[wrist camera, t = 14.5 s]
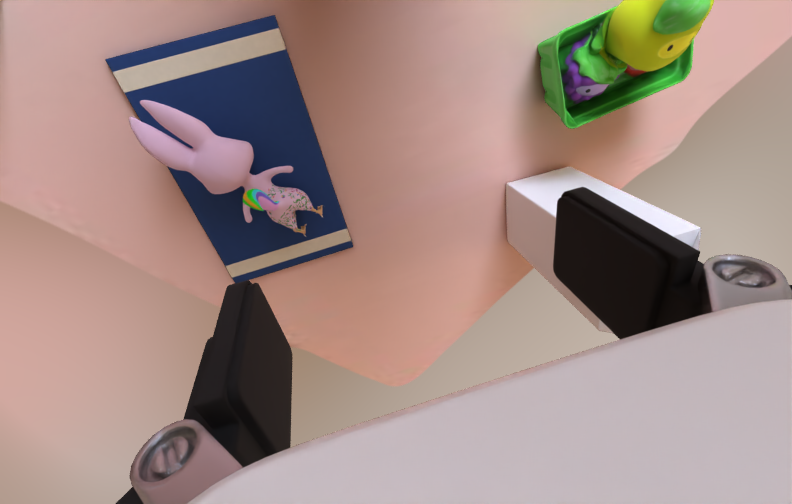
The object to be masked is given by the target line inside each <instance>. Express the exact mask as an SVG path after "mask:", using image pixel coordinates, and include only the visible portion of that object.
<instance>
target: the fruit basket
mask: <svg viewBox="0 0 792 504" xmlns="http://www.w3.org/2000/svg"><path fill="white" fill-rule="evenodd" d="M713 3H714V0H623V1H622V2H621V3H620V5H619V6H617V7H614V8H612V9H610V10H608V11H605V12H603V13H601V14H598V15H596V16H594V17H592V18H589V19H587V20H585V21H583V22H580V23H578V24H576V25H573V26H571V27H568V28H566V29H564V30H563V31H561V32H559V33H558V34H557V35H556V36H554V37H552V38H550V39H547V40H545V41H543V42H541V43H540V44H539V45H538V52H539V54H540V56H541V61H540V69H541V76H542V84H543V87H544V89H545V91H546V92H545V96H544V99H545V102H546V103H547V104H548V105H549V106H550V107H551V108H552V109H553V110H554V111H555V112H556V113H557V114H558V115H559V116H560V117H561V120H562V122H563V123H564V124H565V125H566V126H567V127H568V128H570V129H574V128H577V127H579V126H582V125H584V124H586V123H588V122H590V121H593V120H595V119H597V118H600V117H602V116H604V115H606V114H608V113H611V112H613V111H615V110H617V109H620V108H622V107H625V106H627V105H629V104H632V103H634V102H636V101H638V100H640V99H643V98H645V97H647V96H650V95H652V94H654V93H656V92H659V91H661V90H663V89H666V88H668V87H670V86H673V85H675V84H678V83H680V82H682V81H683V80H684V79H685V78H686V77H687V76H688V74H689V73H690V70H691V67H692V57H693V43H694V37H695V36H696V35H697V33H698V31H699V30H700V28H701V26H702V23H703V22H704V20H705V19H706V17H707V15H708V14H709V12H710V10H711V8H712V5H713Z"/></svg>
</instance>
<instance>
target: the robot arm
mask: <svg viewBox="0 0 792 504" xmlns="http://www.w3.org/2000/svg"><path fill="white" fill-rule="evenodd" d="M699 254H700V251H698V250H697V249H695V248H693V247H691V246H689V245H688V244H686V243H684V242H682V241H680V240H679V239H677V238H675V237H673V236H672V235H670V234H668V233H666V232H664V231H663V230H661V229H659V228H657V227H655V226H654V225H652V224H650V223H648V222H646V221H645V220H643V219H641V218H639V217H638V216H636V215H634V214H632V213H630V212H629V211H627V210H625V209H623V208H621V207H620V206H618V205H616V204H614V203H613V202H611V201H609V200H607V199H605V198H604V197H602V196H600V195H598V194H596V193H595V192H593V191H591V190H589V189H588V188H586V187H579V188H576V189H572V190H569V191H565V192H564V193H563V194H562V196H561V198H559V199H558V201H557V212H556V227H555V243H554V259H553V271H554V274H555V276H556V277H557V278H558V279H559V280H560V281H561V282H562V283H563V284H564V285H565V286H566V287H567V288H568V289H569V290H570V291H571V292H572V293H573V294H574V295H575V296H576V297H577V298H578V299H579V300H580V301H581V302H582V303H583V304H584V305H585V306H586V307H587V308H588V309H589V310H590V311H591V312H593V313H594V314H595V315H596V316H597V317H598V318H599V319H600V320H601V321H602V322H603V323H604V324H605V325H606V326H607V327H608V328H609V329H610V330H611V331H612V332H613V333H614V334H615V335H616V336H617V337H618V338H619V339H620V340H617V341H614V342H611V343H608V344H605V345H602V346H598V347H595V348H593V349H589V350H586V351H582V352H579V353H576V354H573V355H570V356H567V357H564V358H560V359H557V360H554V361H551V362H548V363H545V364H541V365H539V366H535V367H532V368H529V369H526V370H523V371H520V372H516V373H513V374H510V375H507V376H505V377H501V378H498V379H495V380H492V381H489V382H485V383H482V384H479V385H476V386H473V387H470V388H467V389H464V390H460V391H457V392H454V393H451V394H448V395H445V396H442V397H439V398H436V399H433V400H430V401H427V402H424V403H421V404H418V405H414V406H412V407H409V408H406V409H402V410H399V411H396V412H393V413H390V414H387V415H384V416H381V417H378V418H375V419H372V420H369V421H366V422H363V423H360V424H357V425H354V426H351V427H348V428H345V429H342V430H339V431H336V432H333V433H331V434H327V435H325V436H322V437H319V438H316V439H313V440H311V441H307V442H304V443H301V444H298V445H296V446H293V447H291V448H290V436H291V394H292V393H291V392H292V352H291V348H290V345H289V343H288V341H287V339H286V337H285V335H284V333H283V331H282V329H281V327H280V325H279V323H278V321H277V319H276V317H275V315H274V313H273V311H272V310H271V308H270V306H269V304H268V302H267V300H266V298H265V296H264V294H263V292H262V290H261V288H260V286H259V284H258V283H254V284H252V283H251V282H250V281H249V280H246V281H243V282H239V283H236V284H232V285H229V286H227V289H226V292H225V296H224V299H223V303H222V306H221V310H220V313H219V317H218V320H217V325H216V328H215V331H214V335H213V337H211V338H210V339H208V341H207V343H206V345H205V349H204V352H203V355H202V359H201V362H200V366H199V369H198V373H197V376H196V379H195V382H194V386H193V389H192V392H191V396H190V399H189V403H188V406H187V409H186V413H185V416H184V419H183V420H181V421H177V422H174V423H172V424H170V425H168V426H166V427H164V428H163V429H161V430H160V431H158V432H157V433H156V434H154V435H153V436H152V437H151V438H150V439H149V440H148V441H147V442H146V443H145V444H144V445H143V447H142V448H141V450H140V451H139V452H138V454H137V455H136V457H135V459H134V461H133V463H132V466H131V471H130V480H131V484H132V486H133V487H132V488H131V489H130V490H129V491H128V492H127V493H126V494H125V495H124V496H123V497H122V498H121V499H120V500H119V501H118V502H117V503H116V504H792V285H789V284H788V282H787V280H786V278H785V276H784V275H783V273H782V272H781V271H780V270H779V269H777V268H776V267H774V266H773V265H771V264H769V263H767V262H764V261H762V260H759V259H755V258H752V257H748V256H742V255H728V254H726V255H718V256H714V257H712V258H709V259H708V260H707V261H706V262H705V263H704V264H702V263H701V262H699V261H698V257H699Z"/></svg>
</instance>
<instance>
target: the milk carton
mask: <svg viewBox="0 0 792 504" xmlns="http://www.w3.org/2000/svg"><path fill="white" fill-rule="evenodd" d="M579 187H586V188H588V189H589V190H591V191H593V192H595V193H596V194H598V195H600V196H602V197H604V198H605V199H607V200H609V201H611V202H613V203H614V204H616V205H618V206H620V207H621V208H623V209H625V210H627V211H629V212H630V213H632V214H634V215H636V216H638V217H639V218H641V219H643V220H645V221H646V222H648V223H650V224H652V225H654V226H655V227H657V228H659V229H661V230H663V231H664V232H666V233H668V234H670V235H672V236H673V237H675V238H677V239H679V240H680V241H682V242H684V243H686V244H688V245H689V246H691V247H693V248H695V249H697V250H698V251H699V244H700V236H701V228H699V227H698V226H696V225H693V224H692V223H689V222H687V221H685V220H683V219H681V218H679V217H677V216H674V215H672V214H670V213H668V212H666V211H664V210H662V209H660V208H657V207H655V206H653V205H651V204H649V203H646V202H645V201H643V200H640V199H638V198H636V197H634V196H632V195H630V194H628V193H625V192H623V191H621V190H619V189H617V188H615V187H613V186H610V185H608V184H606V183H604V182H602V181H600V180H598V179H596V178H593V177H591V176H589V175H587V174H585V173H583V172H581V171H578V170H576V169H574V168H572V167H565V168H561V169H558V170H554V171H550V172H546V173H543V174H539V175H535V176H532V177H528V178H524V179H520V180H517V181H513V182H509V183H507V184H506V214H507V241H508V243H509V244H510V245H512V246H513V247H514V248H515V249H516V250H517V251H518V252H519V253H520V254H521V255H522V256H523V257H524V258H525V259H526V260H527V261H528V262H529V263H530V264H531V265H532V266H533V267H534V268H535V269H536V270H537V271H538V272H539V273H540V274H541V275H542V276H544V278H545V279H547V280H548V281H549V282H550V283H551V284H552V285H553V286H554V287H555V288H556V289H557V290H558V291H559V292H560V293H561V294H562V295H563V296H564V297H565V298H566V299H567V300H568V301H569V302H570V303H571V304H572V305H574V307H575V308H576V309H577V310H579V311H580V313H582V314H583V315H584V316H585V317H586V318H587V319H588V320H589V321H590V322H591V323H592V324H593V325H594V326H595V327H596V328H597V329H598V330H599V331H603V332H609V333H613V332H612V331H611V330H610V329H609V328H608V327H607V326H606V325H605V324H604V323H603V322H602V321H601V320H600V319H599V318H598V317H597V316H596V315H595V314H594V313H593V312H591V311H590V310H589V309H588V308H587V307H586V306H585V305H584V304H583V303H582V302H581V301H580V300H579V299H578V298H577V297H576V296H575V295H574V294H573V293H572V292H571V291H570V290H569V289H568V288H567V287H566V286H565V285H564V284H563V283H562V282H561V281H560V280H559V279H558V278H557V277H556V276H555V274H554V271H553V259H554V243H555V227H556V212H557V201H558V199H559V198H561V196H562V194H563V193H564V192H565V191H569V190H572V189H576V188H579ZM613 334H614V333H613Z"/></svg>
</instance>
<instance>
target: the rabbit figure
mask: <svg viewBox="0 0 792 504" xmlns="http://www.w3.org/2000/svg"><path fill="white" fill-rule="evenodd" d="M140 104H141V105H142V106H143V107H144V108H145V109H146V110H147V111H148V112H149V113H150V114H151V115H152V116H153V118H154V119H155V120H156V121H157V122H158V123H159V124H161V125H162V126H163V127H164V128H166V129H167V130H168V131H170V132H171V133H173V134H174V135H176V136H177V137H178V138H180V139H181V140H183V141H184V142H186V143H187V144H189V145H191V146H192V147H193V148H189V147H187V146H185V145H184V144H182V143H180V142H179V141H177V140H175V139H174V138H172V137H170V136H168V135H166V134H165V133H163V132H161V131H159V130H158V129H156V128H154V127H152V126H150V125H148V124H146V123H143V122H141V121H140V120H138V119H136V118H134V117H130V118H129V122H130V125H131V127H132V130H133V132H134V134H135V135H136V137H137V139H138V140H139V142H140V143H141V145H142V146H143V147H144V148H145V150H146V151H147V152H148V153H150V154H151V155H152V156H153V157H155V158H156V159H157V160H159V161H160V162H161V163H163V164H165V165H166V166H168V167H170V168H173V169H176V170H182V171H188V172H190V173H191V174H192V175H194V176H195V177H196V178H197V179H198V180H199V181H200V182H202V183H203V185H204V186H205V187H206V188H207V190H208V191H209V192H210V193H212V194H224V193H228V192H231V191H233V190H235V189H237V188H239V187H240V186H243V187H244V189H245V193H244V195H243V212H244V216H245V220H246V222H248V223H250V222H251V221H252V216H251V214H250V207H251V208H253V209H256V210H260V211H264V210H266V211H267V213H268V215H269V216H270V218H271V219H272V220H273V221H275V222H277V223H279V224H282V225H284V226H286V227H288V228H291V229H292V230H293V231H295V232H300V233H303V234H304V236H305V237H306V235H305V233H306V232H305V228H306V227H305V226H306V225H307V224H305V225H304V226H301V229H298V227H297V224H296V213H295V210H308V211H313V212H316V213H319V214H320V215H321V216H322V209H323V208H322V205H321V207H320V206H318V208H317V209H318V210H316V209H314V207H313V206H312V203H311V201H310V199H309V197H308V196H307V194H306V193H305V192H303V191H302V190H299V189H297V188H289V187H277V186H275V185H274V184H273V183H272V182H271V178H272V177H273V176H274V175H276V174H279V173H291V172H292V171H293V167H292V166H280V167H275V168H272V169H269V170H266V171H263V172H262V173H260V174H257V175H252V174H250V173H249V171H250V168H251V165H252V162H253V158H254V154H253V148H252V146H251V144H250V143H248V142H246V141H240V140H235V139H230V138H225V137H220V136H217V135H215V134H214V133H213V132H212V131H211V130H210V129H209V127H208V126H207V125H206V124H204V123H203V122H201V121H200V120H198V119H196V118H194V117H192V116H190V115H188V114H185V113H183V112H181V111H179V110H177V109H174V108H172V107H169V106H166V105H163V104H160V103H157V102H154V101H149V100H141V101H140ZM319 207H320V208H319ZM322 217H323V216H322Z"/></svg>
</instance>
